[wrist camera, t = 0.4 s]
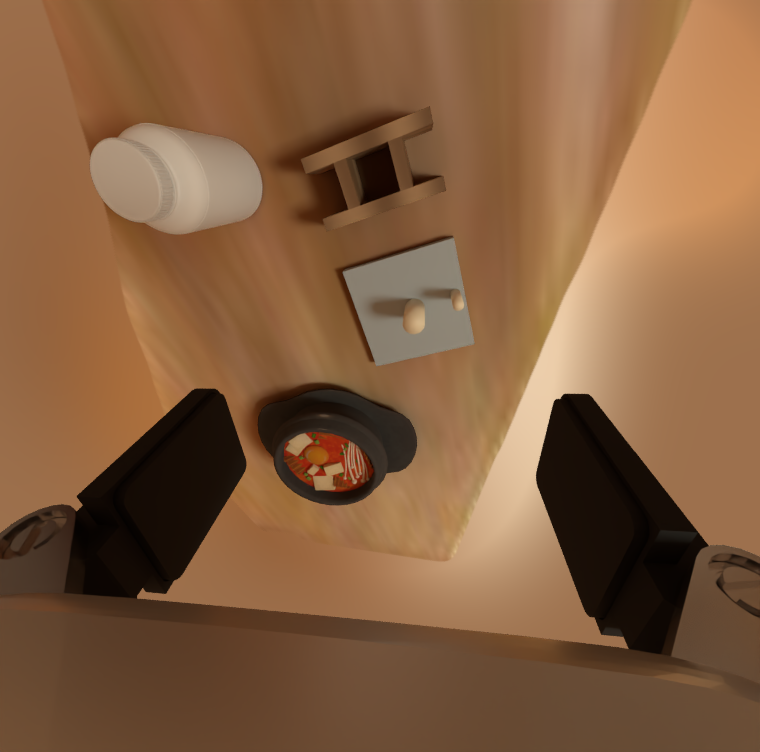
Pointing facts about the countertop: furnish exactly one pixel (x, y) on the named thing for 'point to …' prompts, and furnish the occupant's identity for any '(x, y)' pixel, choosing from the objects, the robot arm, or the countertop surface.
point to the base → (401, 286)
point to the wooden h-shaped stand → (365, 145)
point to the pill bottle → (175, 178)
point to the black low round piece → (335, 444)
